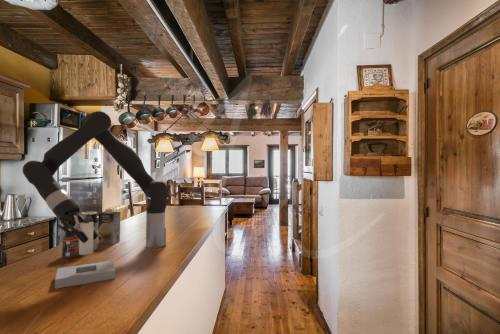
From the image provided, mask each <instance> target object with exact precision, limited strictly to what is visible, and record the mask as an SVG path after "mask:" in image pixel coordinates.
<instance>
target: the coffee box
mask: <svg viewBox="0 0 500 334" xmlns="http://www.w3.org/2000/svg"><path fill="white" fill-rule="evenodd" d="M97 234H98V237H97V244H107V245H115V244H117V243H118V242H120V241H121V211H107V210H105V211H102V212H99V213H98V232H97Z"/></svg>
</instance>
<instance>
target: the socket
mask: <svg viewBox="0 0 500 334" xmlns="http://www.w3.org/2000/svg"><path fill="white" fill-rule="evenodd" d="M114 264H115V263H114V262H113V260H107V261H100V262H93V263H92V262H91V263H86V264H78V265H72V266H65V267H64V266H63V267H58V268H57V271H56V274H55V278H54V289H55V290H56V289H61V288H67V287H73V286H74V287H75V286H79V285H84V284H91V283H96V282H101V281H107V280H114V279H116V268H115V265H114Z"/></svg>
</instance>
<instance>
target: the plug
mask: <svg viewBox="0 0 500 334" xmlns="http://www.w3.org/2000/svg"><path fill="white" fill-rule="evenodd" d="M80 228H81V230H82V231H83V232H84V234H85V235H86V236H87V237H88V241H87V242H85V243H83V242H81V241H80V239H79V251H78V256H79V255H80V256H86V255H87V256H88V255H91V254H93V253H94V251H93V230H94V222H89V217H84V222H82V223H80ZM82 231H81V232H82Z"/></svg>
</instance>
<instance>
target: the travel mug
mask: <svg viewBox="0 0 500 334" xmlns="http://www.w3.org/2000/svg"><path fill="white" fill-rule="evenodd" d="M81 213H82V214H83V215H86V216H87V215H88V214H90V215H91V217H92V219H93V221H94V223H95V225H96V226H95V227H94V230H95V232H96V233H97V234H98V225H99V218H98V217H97V214H98V212H97V211H82V212H81ZM97 249H98V237H97V238H96V239H94V240H93V252H94V251H96V250H97ZM78 252H79V238H78Z"/></svg>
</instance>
